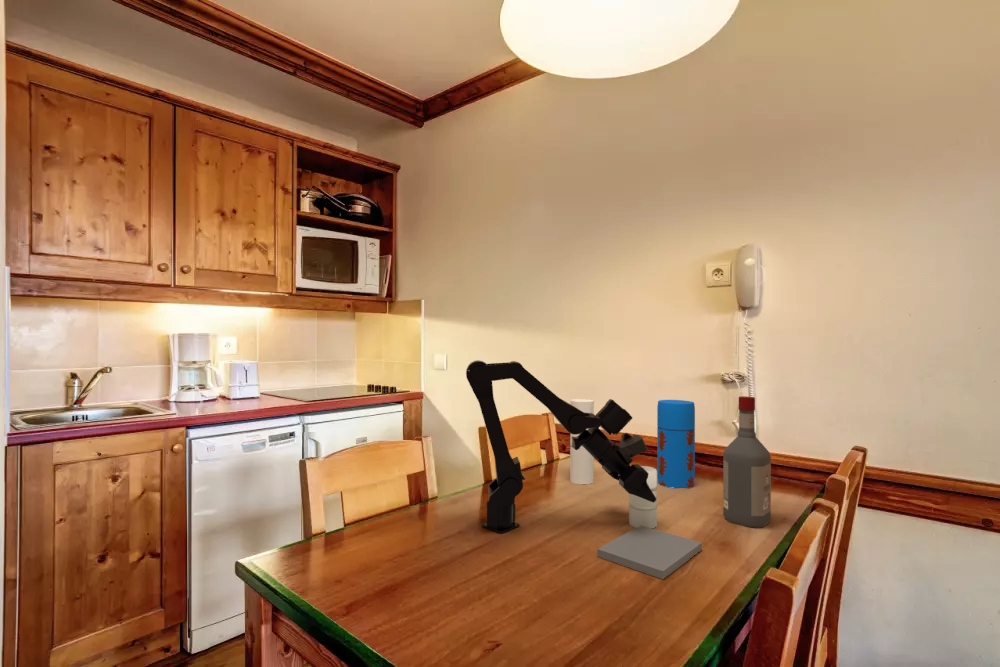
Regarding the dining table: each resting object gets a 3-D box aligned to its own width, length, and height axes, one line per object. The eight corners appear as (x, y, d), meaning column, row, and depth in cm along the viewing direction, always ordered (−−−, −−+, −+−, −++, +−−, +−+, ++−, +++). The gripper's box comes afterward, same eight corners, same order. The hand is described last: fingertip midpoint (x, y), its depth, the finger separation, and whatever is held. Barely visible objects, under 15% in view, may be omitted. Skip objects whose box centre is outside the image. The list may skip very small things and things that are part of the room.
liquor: (773, 520, 122) (773, 397, 122) (760, 530, 116) (760, 400, 116) (734, 511, 129) (734, 394, 129) (720, 520, 122) (720, 397, 123)
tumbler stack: (649, 531, 115) (648, 474, 115) (624, 524, 119) (623, 469, 119) (661, 523, 119) (661, 469, 120) (637, 517, 124) (637, 464, 124)
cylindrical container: (593, 485, 151) (593, 402, 151) (569, 483, 152) (569, 401, 153) (593, 478, 158) (594, 399, 158) (570, 477, 159) (571, 398, 160)
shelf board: (662, 579, 92) (662, 571, 92) (597, 556, 101) (597, 548, 101) (701, 549, 105) (701, 542, 105) (640, 531, 114) (640, 525, 114)
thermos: (649, 481, 156) (649, 400, 156) (675, 477, 160) (675, 399, 161) (675, 490, 146) (675, 404, 146) (702, 486, 150) (702, 403, 151)
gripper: (639, 431, 110) (688, 481, 111) (614, 418, 129) (656, 460, 129) (603, 468, 109) (653, 518, 110) (583, 449, 128) (626, 492, 129)
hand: (647, 494), depth 119 cm, fingers open, 9 cm apart
